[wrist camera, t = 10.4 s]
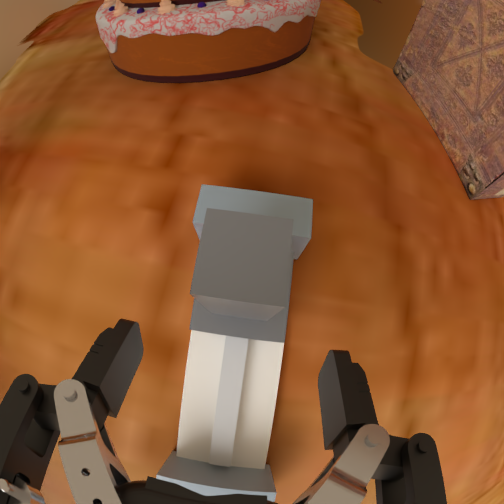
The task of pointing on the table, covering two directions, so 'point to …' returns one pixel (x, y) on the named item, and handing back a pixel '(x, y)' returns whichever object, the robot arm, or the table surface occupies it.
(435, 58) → the book
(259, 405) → the rail
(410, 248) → the table surface
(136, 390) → the table surface
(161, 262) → the table surface
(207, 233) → the block
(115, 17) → the cake
